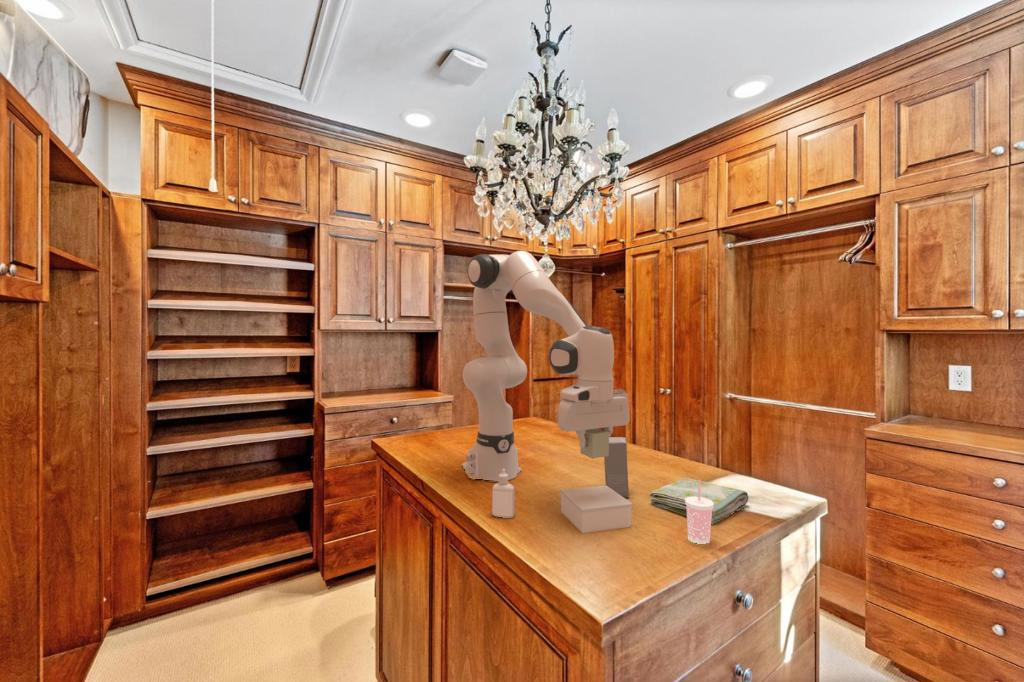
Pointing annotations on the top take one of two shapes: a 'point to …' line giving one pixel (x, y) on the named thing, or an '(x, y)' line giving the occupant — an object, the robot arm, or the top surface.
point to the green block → (596, 443)
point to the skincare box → (617, 466)
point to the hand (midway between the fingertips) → (594, 445)
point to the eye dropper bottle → (503, 497)
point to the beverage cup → (699, 517)
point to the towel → (721, 496)
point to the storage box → (596, 508)
